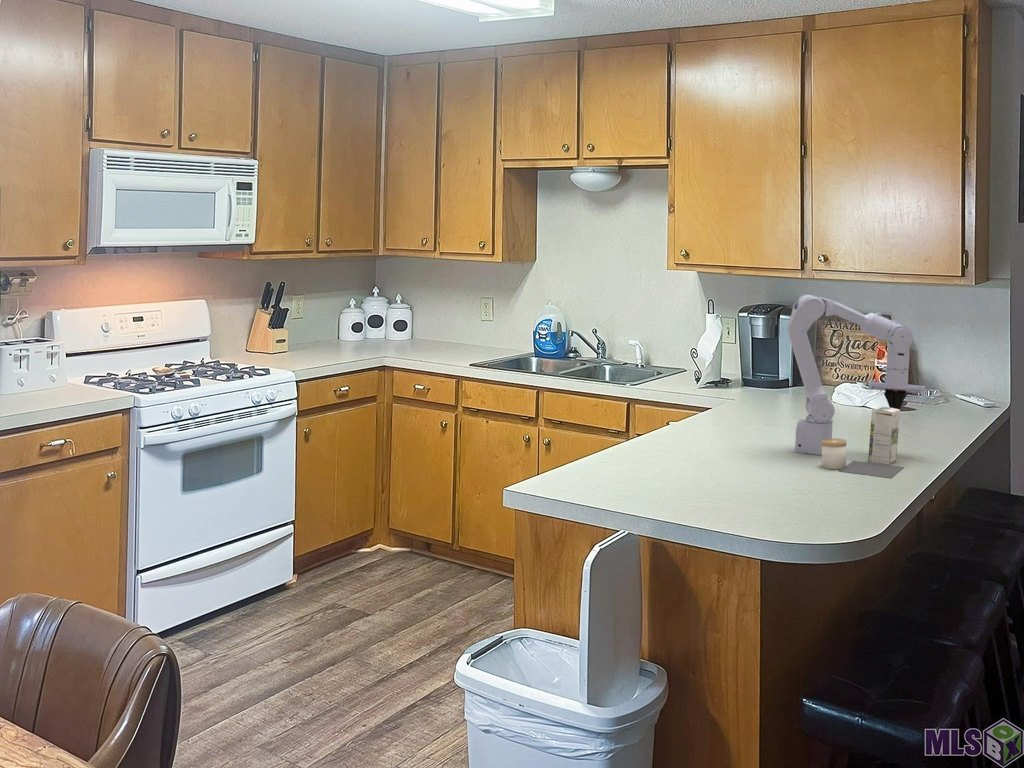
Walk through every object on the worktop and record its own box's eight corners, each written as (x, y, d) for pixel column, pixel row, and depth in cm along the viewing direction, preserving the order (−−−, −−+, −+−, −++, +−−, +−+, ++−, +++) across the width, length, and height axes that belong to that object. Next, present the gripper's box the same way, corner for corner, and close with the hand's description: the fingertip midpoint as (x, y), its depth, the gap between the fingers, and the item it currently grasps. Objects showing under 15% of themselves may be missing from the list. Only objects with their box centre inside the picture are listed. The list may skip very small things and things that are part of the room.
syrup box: (875, 458, 269) (878, 406, 267) (897, 461, 266) (900, 408, 263) (867, 462, 265) (870, 408, 263) (890, 465, 261) (893, 411, 259)
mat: (838, 472, 254) (838, 470, 254) (853, 461, 265) (853, 460, 265) (891, 479, 247) (891, 477, 246) (904, 468, 258) (904, 467, 258)
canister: (818, 468, 258) (818, 441, 257) (825, 463, 263) (825, 437, 262) (842, 470, 254) (842, 443, 254) (849, 465, 260) (849, 439, 259)
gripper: (928, 368, 270) (925, 417, 272) (873, 365, 278) (871, 412, 280) (923, 371, 264) (919, 421, 266) (867, 367, 272) (864, 416, 274)
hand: (894, 417), depth 273 cm, fingers closed
